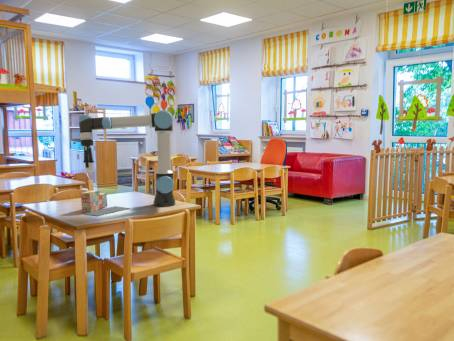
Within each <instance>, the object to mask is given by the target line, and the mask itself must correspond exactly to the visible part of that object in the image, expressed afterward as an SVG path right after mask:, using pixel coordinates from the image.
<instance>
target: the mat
mask: <svg viewBox="0 0 454 341" xmlns="http://www.w3.org/2000/svg"><path fill="white" fill-rule="evenodd" d="M127 210H130V207H124V206H118V205H117V206H116V205H115V206H110V207H104V208H101V209H98V210H96V211H93V212H82V215H88V216H93V217H100V215H101V216H104V214H105V215H108V213H109V214H112V213H117V212H121V211H127Z"/></svg>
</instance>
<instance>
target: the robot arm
mask: <svg viewBox="0 0 454 341" xmlns="http://www.w3.org/2000/svg"><path fill="white" fill-rule="evenodd" d="M173 122H174V117H173V115H172V113H171V112H170V111H168V110H164V109H163V110H159V111H157V112H155V113H154V112H152V113H149V114H147V115H146V114H145V115H129V116H128V115H126V116H113V117H110V116H103V117H100V116H99V117H92V116H91V115H90V114H80V115H79V116H78V126H79V135H78V136H79V137H80V146H81V147H83V161H82V162H83V164H84V169H85V174H93V173H94V172H95V169H94V163H95V161H94V159H93V151H92V147H91V146H94V135H93V130H94V131H95V130H110V129H128V128H142V127H151V128H154V133H156V141H157V142H156V143H157V144H156V145H157V170H156V172H155V195H154V200H153V206H154V207H155V206H156V207H170V206H171V207H172V206H175V205H176V200H175V197H174V187H175V182H174V181H175V180H174V178H175V177H174V171H173V170H172V158H171V157H172V154H171V151H172V150H171V147H172V146H171V143H172V142H171V141H172V140H171V133H173V129H174V128H173V124H174V123H173Z"/></svg>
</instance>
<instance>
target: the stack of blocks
mask: <svg viewBox="0 0 454 341" xmlns="http://www.w3.org/2000/svg"><path fill="white" fill-rule="evenodd" d="M80 199H81V200H80V202H81V212H82V213H86V212H93V211H96V210H100V209H105V208H108V198H107V193H106V192H100V190H99V189H98V190H92V189H91V190H87V191H83V192H81V193H80Z"/></svg>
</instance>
